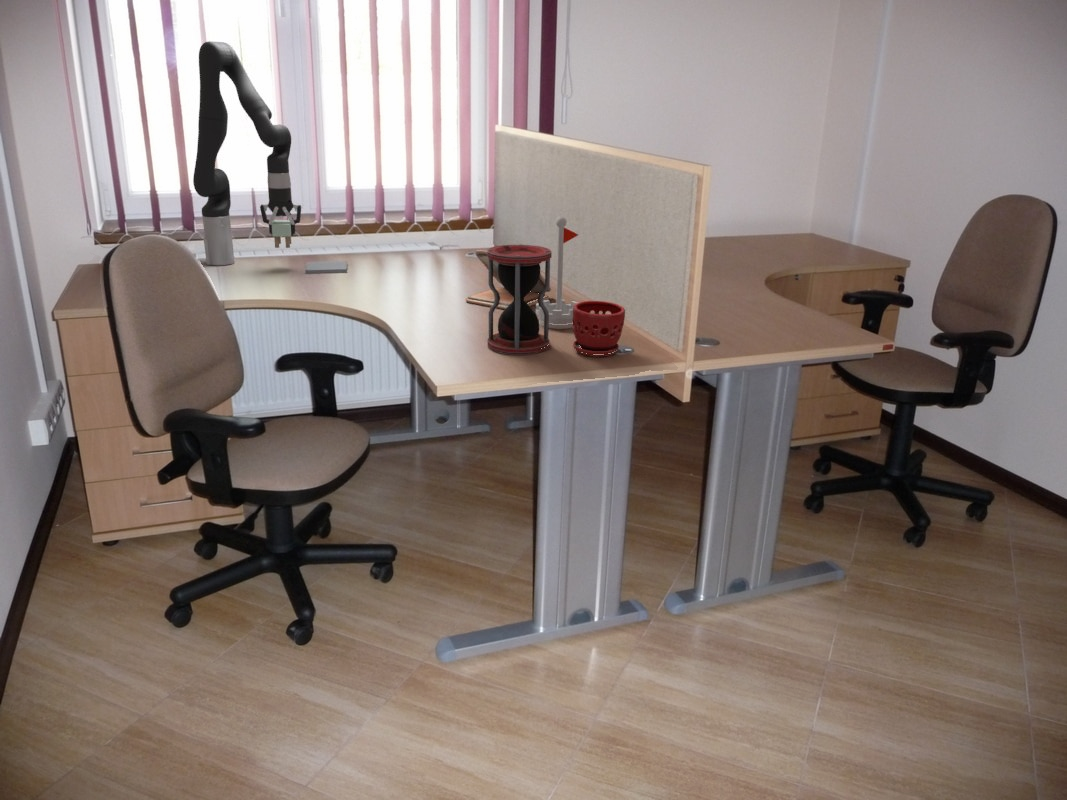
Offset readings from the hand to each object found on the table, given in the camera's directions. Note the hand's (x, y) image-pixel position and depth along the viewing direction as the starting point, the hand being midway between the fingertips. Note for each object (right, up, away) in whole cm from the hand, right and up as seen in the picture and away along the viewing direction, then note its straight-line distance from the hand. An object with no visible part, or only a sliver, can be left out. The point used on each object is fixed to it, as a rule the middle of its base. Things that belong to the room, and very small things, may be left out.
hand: (282, 235), depth 299 cm
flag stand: (+95, -36, -55) cm, 115 cm away
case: (+80, -27, -32) cm, 90 cm away
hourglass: (+84, -44, -77) cm, 122 cm away
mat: (+14, -11, +7) cm, 19 cm away
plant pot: (+104, -46, -80) cm, 139 cm away
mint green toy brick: (0, -3, +1) cm, 4 cm away
